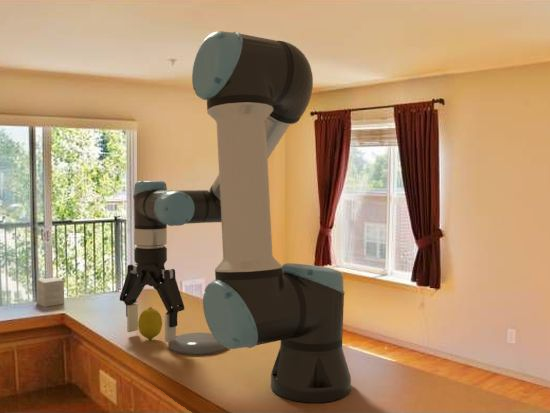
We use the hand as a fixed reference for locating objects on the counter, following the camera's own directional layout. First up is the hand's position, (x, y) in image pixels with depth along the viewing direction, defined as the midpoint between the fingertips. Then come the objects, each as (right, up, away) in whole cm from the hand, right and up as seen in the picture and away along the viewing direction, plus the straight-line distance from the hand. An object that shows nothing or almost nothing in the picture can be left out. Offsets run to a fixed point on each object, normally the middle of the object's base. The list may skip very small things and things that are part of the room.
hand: (151, 335), depth 134 cm
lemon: (0, -1, 0) cm, 1 cm away
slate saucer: (+12, -1, -3) cm, 12 cm away
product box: (-38, +1, +35) cm, 52 cm away
